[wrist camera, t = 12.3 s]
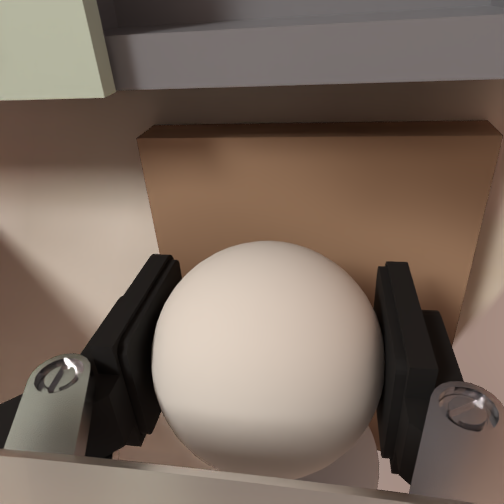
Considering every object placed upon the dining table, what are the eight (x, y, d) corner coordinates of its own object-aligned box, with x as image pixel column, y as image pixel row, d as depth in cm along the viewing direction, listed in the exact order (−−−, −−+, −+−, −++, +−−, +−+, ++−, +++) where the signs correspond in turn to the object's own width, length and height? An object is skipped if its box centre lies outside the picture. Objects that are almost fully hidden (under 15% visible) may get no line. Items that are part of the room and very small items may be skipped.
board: (420, 426, 20) (425, 456, 19) (203, 402, 22) (195, 428, 21) (487, 120, 13) (503, 135, 11) (153, 124, 15) (136, 138, 13)
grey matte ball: (368, 446, 19) (376, 597, 14) (244, 431, 20) (214, 568, 15) (380, 353, 16) (395, 505, 12) (234, 341, 17) (193, 476, 13)
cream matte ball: (366, 363, 14) (385, 551, 9) (199, 352, 15) (139, 519, 10) (382, 204, 11) (422, 357, 6) (176, 202, 12) (77, 336, 7)
